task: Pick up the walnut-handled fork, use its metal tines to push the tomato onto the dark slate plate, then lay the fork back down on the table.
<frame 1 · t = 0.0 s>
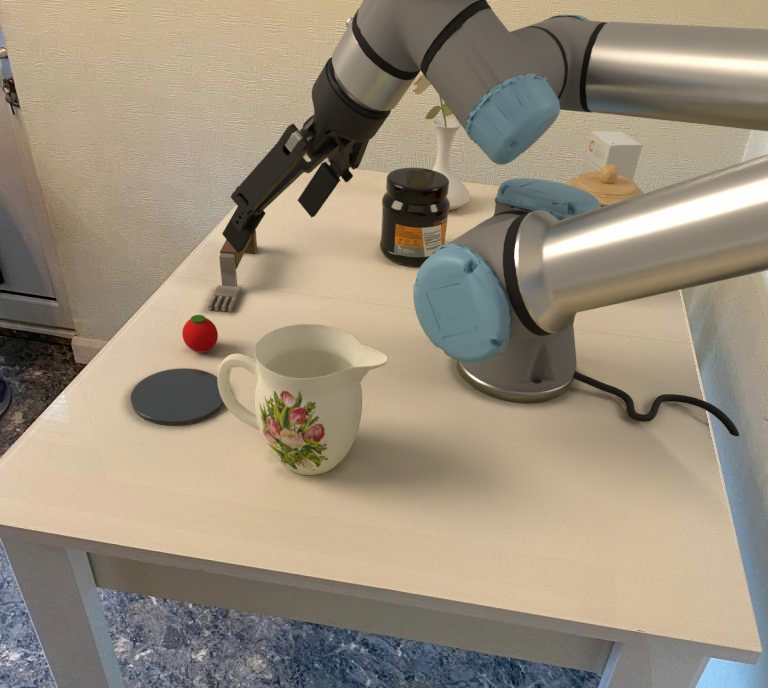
hand: (270, 224, 88), 15 cm above the table, tool tilted 35°, fingers open, 13 cm apart
small box: (597, 213, 138), on the table
pitcher: (301, 455, 81), on the table
kitchen canister: (580, 283, 116), on the table
plate: (179, 397, 87), on the table
tomato: (202, 349, 95), on the table
supplement container: (411, 255, 120), on the table
flower in vase: (434, 206, 136), on the table
fork: (239, 269, 112), on the table
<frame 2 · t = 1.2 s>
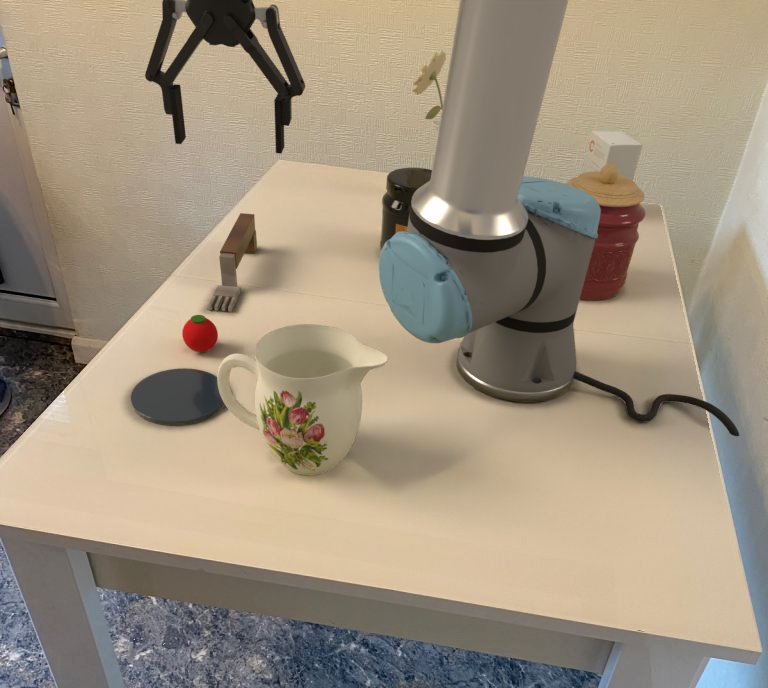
hand: (230, 145, 100), 18 cm above the table, tool pointing down, fingers open, 13 cm apart
nothing on the table moved.
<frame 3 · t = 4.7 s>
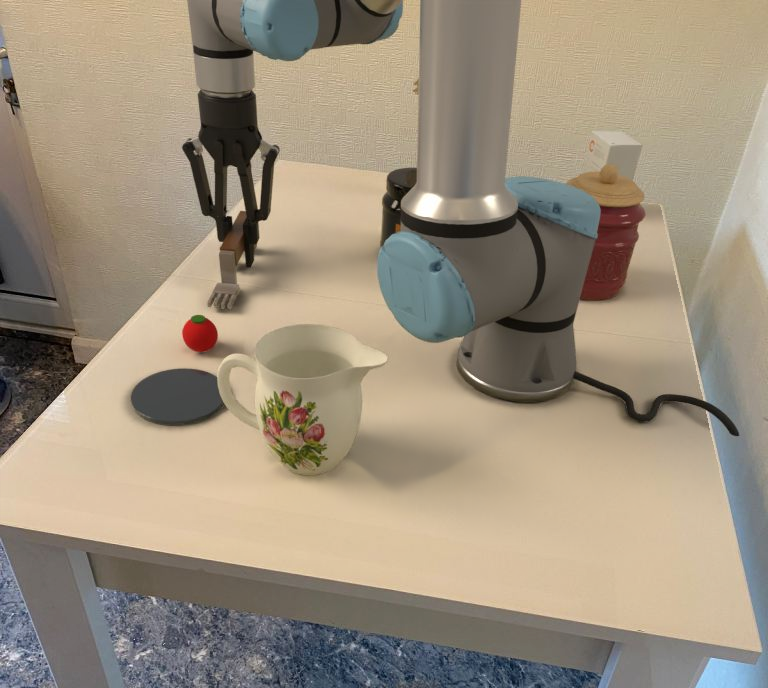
hand: (240, 262, 112), 1 cm above the table, tool pointing down, fingers closed on fork, 2 cm apart
fork: (239, 267, 111), point 1 cm above the table, touching gripper
everything else where it was.
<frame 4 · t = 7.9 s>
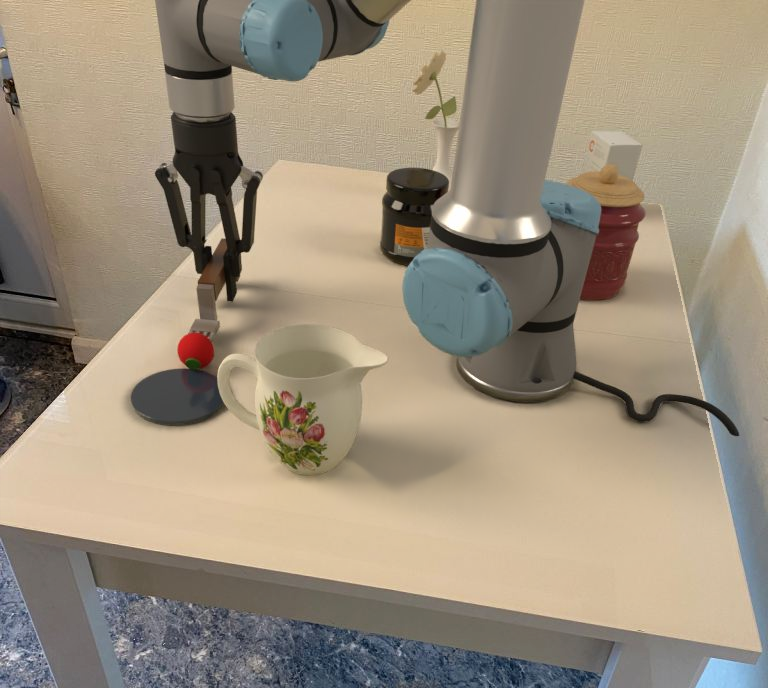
hand: (221, 295, 103), 1 cm above the table, tool pointing down, fingers closed on fork, 2 cm apart
tomato: (198, 337, 91), point 3 cm above the table, tilted 106°, touching fork, plate
fork: (220, 300, 102), point 1 cm above the table, touching gripper, tomato
everything else where it was.
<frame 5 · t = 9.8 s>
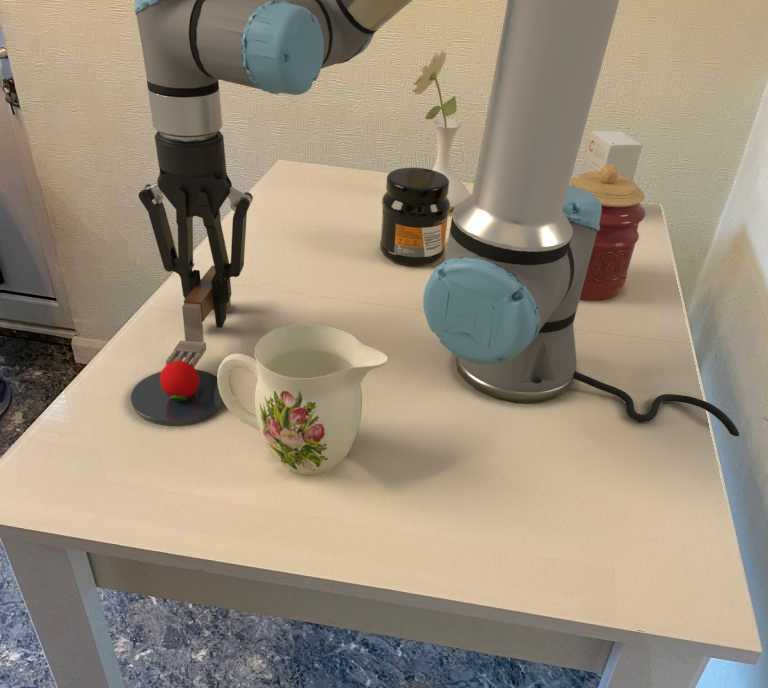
hand: (210, 321, 98), 1 cm above the table, tool pointing down, fingers closed on fork, 2 cm apart
tomato: (180, 361, 85), point 4 cm above the table, tilted 132°, touching fork, plate
fork: (208, 326, 97), point 1 cm above the table, tilted 8°, touching gripper, tomato
everything else where it was.
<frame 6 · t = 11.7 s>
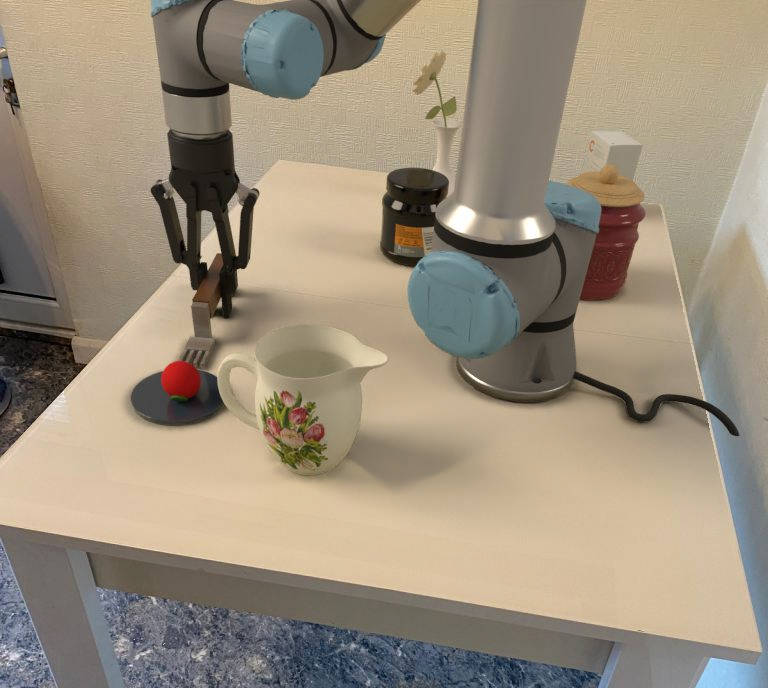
hand: (217, 311, 102), 0 cm above the table, tool pointing down, fingers open, 2 cm apart
tomato: (183, 361, 85), point 4 cm above the table, tilted 132°, touching plate
fork: (215, 316, 101), on the table, touching gripper
everything else where it was.
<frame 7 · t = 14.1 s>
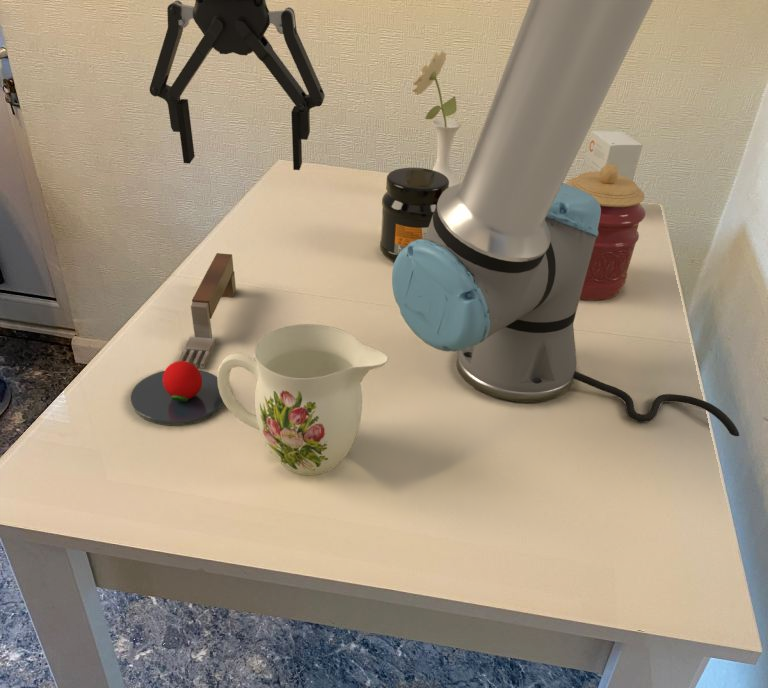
hand: (243, 163, 92), 19 cm above the table, tool pointing down, fingers open, 13 cm apart
fork: (215, 316, 101), on the table
everything else where it was.
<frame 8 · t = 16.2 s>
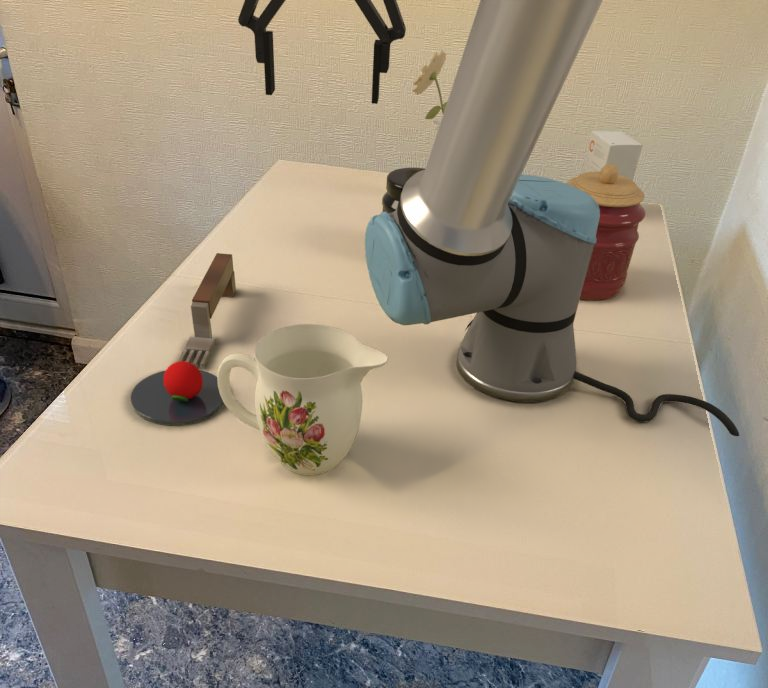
hand: (322, 96, 95), 25 cm above the table, tool pointing down, fingers open, 13 cm apart
nothing on the table moved.
at the end: tomato inside the target area on the plate (1.5 cm from its centre), point 4.3 cm above the plate's base; tomato touching plate; the gripper is holding nothing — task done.
